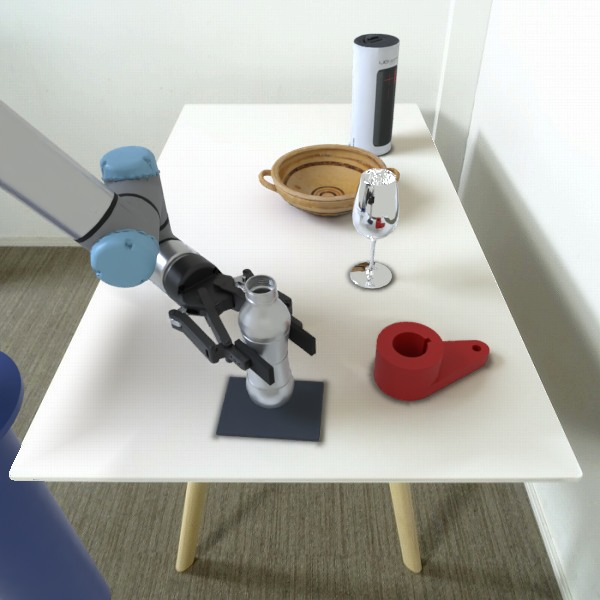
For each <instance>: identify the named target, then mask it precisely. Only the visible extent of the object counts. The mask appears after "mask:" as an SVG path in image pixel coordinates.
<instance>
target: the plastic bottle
mask: <svg viewBox="0 0 600 600" xmlns="http://www.w3.org/2000/svg"><path fill="white" fill-rule="evenodd" d="M254 275H255V276H252V277H250V278H249V279H248V280H247V281H246V283H245V290H246V291H244V292H245V296H246V301H245V303H244V304H243V306H242V307H241V309H240V311H239V312H238V315H237V324H238V328H239V331H240V335H241V337H242V341H243V342H244V343H245V344H246V345H247V346H249V347H250V348H251V349H252V350H253V351H255V352H256V353H257V354H258V355H259V356H261V357H262V358H263V359H264V360H265V361H267V362H268V363H269V364H270V365H272V366H273V367H274V378H275V383H273V384H272V385H271V386H270V385H269V384H267V383H266V382H265V381H264V380H263V379H262V378H260V377H259V376H258V375H257V374H256V373H255V372H253V371H252V370H251V369H250V368H249V369H247V370H246V371H247V372H246V377H245V378H246V388H247V391H248V394H249V396H250V398H251V400H252V401H253V402H254V403H256V404H257V405H259V406H261V407H264V408H271V409H272V408H277V407H280V406H282V405H284V404H285V403H286V402H288V400H289V399H290V398H291V396H292V393H293V389H294V380H295V378H294V375H293V372H292V369H291V364H290V358H289V332H290V324H291V316H290V313H289V311H288V308H287V306H286V305H285V304H284V303H283V302H282V301H281V300H280V299H279V298H278V291H279V289H278V285H277V281H276V279H275V278H274V277H272V276H270V275H268V274H254Z"/></svg>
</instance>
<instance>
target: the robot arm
mask: <svg viewBox="0 0 600 600" xmlns="http://www.w3.org/2000/svg"><path fill="white" fill-rule="evenodd" d="M99 168H100V172H101V180H100V179H98V177H96V176H95V175H94V174H93V173H91V172H90V171H89V170H88V169H87V168H85V167H84V166H82V164H80V163H79V162H78V161H76V160H75V158H73V157H72V156H70V155H69V154H68V153H67V152H66V151H64V149H62V148H61V147H60V146H58V145H57V144H56V143H54V142H53V140H51V139H50V138H48V137H47V136H46V135H45V134H43V132H41V131H40V130H39V129H37V128H36V127H35V126H34V125H32V124H31V123H30V122H29V121H28V120H27V119H26V118H24V117H23V116H21V114H19V113H18V112H16V110H14V109H13V108H12V107H11V106H10V105H8V104H7V103H6V102H4V101H3V100H2V99H1V98H0V190H2V191H4V192H5V193H6V194H8V195H9V196H10V197H12V198H14V199H15V200H16V201H18V202H19V203H21V204H22V205H23V206H25V207H26V208H27V209H29V210H30V211H32V212H33V213H34V214H36V215H37V216H39V217H41V218H42V219H43V220H45V221H46V222H47V223H48V224H50V225H52V226H53V227H55V228H56V229H57V230H59V231H60V232H61V233H63V234H65V235H66V236H67V237H69V238H70V239H72V240H73V241H74V242H76V243H77V244H78V245H79V246H81V247H82V248H84V249H85V250H87V251H88V252H89V258H90V265H91V269H92V270H93V271H92V272H94V274H95V275H96V278H98V279H99V280H100V281H101V282H103V283H105V284H106V285H109V286H112V287H115V288H120V289H129V288H135V287H138V286H141V285H143V284H144V283H145V282H147V281H148V280H149V281H150V282H151V283H153V284H154V285H155V286H156V287H157V288H158V289H159V290H161V291H162V293H164V294H165V295H167V296H168V297H169V298H170V299H171V300H172V301H173V302H174V303H176V304H177V305H178V306H179V307H178V308H172V309H171V308H170V309H169V310H168V311H167V314H168V317H169V318H168V319H169V321H170V326H171V328H172V329H174V330H176V331H178V332H181V333H182V334H184V335H185V336H186V337H187V339H188V340H189V341H190V342H191V343H192V344H193V345H194V347H196V348H197V350H198V351H199V352H200V353H201V354H202V355H203V356H204V357H205V358H206V359H207V360H208V362H209V363H211V364H217V363H219V362H220V360H222V359H224V360H225V362H226V363H228V364H232V363H233V364H235V366H237V367H238V368H239V369H241V370H242V371H245V372H246V371H247V369H249V368H250V369H251V370H252V371H253V372H255V373H256V374H257V375H258V376H259V377H260V378H262V379H263V380H264V381H265V382H266V383H267V384H269V385H270V386H271V385H272V384H273V383H275V378H274V367H273V366H272V365H270V364H269V363H268V362H267V361H265V360H264V359H263V358H262V357H261V356H259V355H258V354H257V353H256V352H255V351H253V350H252V349H251V348H250V347H249V346H247V345H246V344H245V343H244V341H243V340H242V339H240V338H237V339H236V340H234V341H233V339H232V338H231V336H230V334H229V331H227V328H226V326H225V325H224V322H223V321H222V318H221V317H220V316H221V315H222V314H224V312H226V311H229V310H232V311H234V312H237V313H239V311H240V309H241V307H242V306H243V304H244V303H245V301H246V296H245V292H246V290H245V283H246V281H247V280H248V279H249V278H250V277H252V276H255V275H256V274H254V272H253V271H252V270H251V269H250V268H244V269H242V274H240V275H238V276H235V277H233V276H232V275H229V274H226V273H223V272H222V271H221V270H220V269H219V268H218V267H217V266H216V264H214V263H213V262H211V261H210V260H208V259H207V258H206V257H205V256H203V255H201V254H200V253H199V252H198V251H197V250H195V249H194V248H192V247H191V246H189V245H188V244H187V243H185V242H184V241H182V240H181V239H180V238H179V237H177V236H176V235H174V233H173V230H172V227H171V226H172V225H171V222H170V217H169V213H168V210H167V204H166V200H165V194H164V189H163V185H162V180H161V175H160V174H161V170H159V167H158V163H157V160H156V156H155V154H154V153H153V152H152V150H150V149H149V148H147V147H144V146H140V145H126V146H125V145H124V146H120V147H116V148H113V149H110V150H109V151H107V152H106V153H104V155H102V157H101V158H100V161H99ZM278 298H279V299H280V300H281V301H282V302H283V303H284V304H285V305H286V306H287V308H288V311H289V313H290V316H291V324H290V332H289V339H288V341H291V342H292V343H293V344H294V345H296V346H297V347H298V348H300V349H302V351H304V352H305V353H306V354H308V355H309V356H310V357H313V356H315V355H317V338H316V337H315V336H314V335H313V334H311V333H310V332H308V331H307V330H305V329H304V324H303V322H302V320H299V319H298V318H297V317H296V316H294V315H293V314H294V313H293V298H291V296H288V295H287V294H285V293H284V292H281V291H280V290H278ZM191 316H194V317H195V316H196V317H203V318H204V319H205V321H206V324H207V326H208V327H209V328H210V330H211V332H212V334H213V337H214V338H215V340H216V342H217V343H216V342H215V341H214V340H213V339H212V338H211V337H210V336H209V335H208V334H207V333H206V332H205V330H203V329H202V328H201V327H200V326H199V325H198V323H196V322H195V321H194V319H193V318H192V317H191Z"/></svg>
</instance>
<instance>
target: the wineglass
mask: <svg viewBox="0 0 600 600" xmlns="http://www.w3.org/2000/svg"><path fill="white" fill-rule="evenodd" d="M399 219H400V198H399V188H398V182H397V181H396V176H395V174H394V173H393V172H391V171H389V170H386V169H378V168H377V169H369V170H366V171H365V172H363V173H362V174H361V177H360V180H359V184H358V187H357V190H356V194H355V198H354V203H353V209H352V212H351V221H352V224H353V227H354V229H355V230H356V232H357V233H358V234H360V235H361V236H362V237H363V238H366V239H368V240H370V255H369V261H365V262H360V263H358V264H355V265H354V266H352V268H351V270H350V272H349V277H350V279H351V281H352V283H354V284H355V285H357V286H359V287H361V288H364V289H372V290H373V289H380V288H383V287H386V286H387V285H388V284H390V282H391V281H392V278H393V274H392V271H391V270H390V268H388V267H387V266H386V265H384V264H382V263H380V262H375V253H376V251H375V250H376V244H377V241H378V240H382V239H384V238H386V237H389V236H390V235H391V234H392V233H393V232H394V230H396V228H397V226H398V223H399Z"/></svg>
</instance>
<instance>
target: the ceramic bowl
mask: <svg viewBox="0 0 600 600" xmlns="http://www.w3.org/2000/svg"><path fill="white" fill-rule="evenodd" d="M377 168H378V169H386V170H389V171H391V172H393V173H394V174H395V176H396V181H397V183H398V182H399V181H400V176H401V173H400V171H399V170H398V169H397V168H395V167H387V165H386V163H385V162H384V161H383V159H381V157H380V156H376V155H375V154H373V153H371V152H369V151H367V150H364V149H361V148H357V147H353V146H350V145H348V144H338V143H323V144H322V143H321V144H313V145H307V146H303V147H298V148H295V149H292V150H290V151H289V152H286V153H285V154H283V155H281V156H280V157H278V158H277V160H276V161H275V162H274V163H273V164H272V166H271V169H263V170H262V171H260V172H259V174H258V181H259V183H260V185H262V186H263V187H265V188H266V189H268V190H270V191H272V192H275V193H277V194H279V196H280V197H281V198H282V199H283V200H284V201H285V202H287V204H289V205H291V206H292V207H294V208H295V209H298V210H300V211H303V212H306V213H310V214H314V215H317V216H320V217H335V216H336V217H337V216H341V215H345V214H347V213H352V209H353V203H354V198H355V194H356V190H357V187H358V184H359V180H360V177H361V174H362V173H363V172H365V171H366V170H369V169H377ZM267 176H268V177H271V179H272V182H273V183H271V182H269V181H267V180H266V179H265V178H264V177H267Z"/></svg>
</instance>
